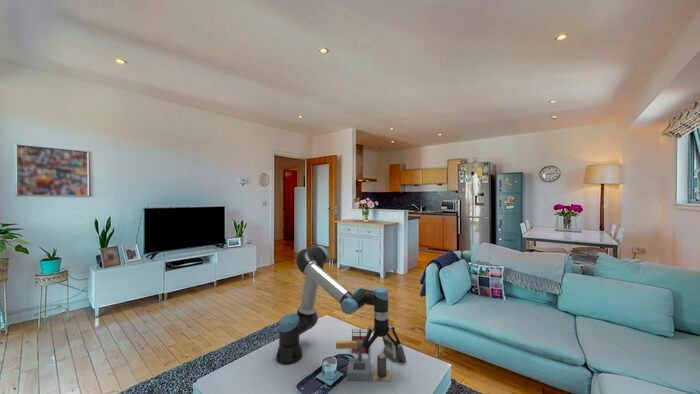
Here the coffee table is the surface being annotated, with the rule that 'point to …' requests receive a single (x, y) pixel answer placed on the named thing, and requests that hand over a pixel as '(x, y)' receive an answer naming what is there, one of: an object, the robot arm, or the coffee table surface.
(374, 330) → the robot arm
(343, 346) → the wooden handle
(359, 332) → the puzzle cube
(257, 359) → the coffee table surface
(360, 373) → the socket
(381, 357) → the plug
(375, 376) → the coaster
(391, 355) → the digital clock
